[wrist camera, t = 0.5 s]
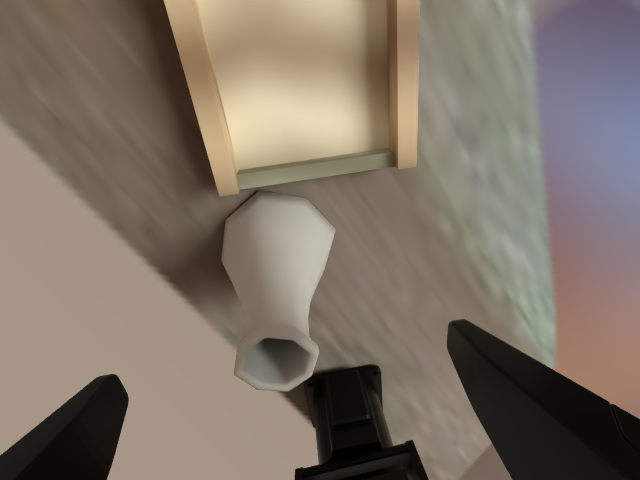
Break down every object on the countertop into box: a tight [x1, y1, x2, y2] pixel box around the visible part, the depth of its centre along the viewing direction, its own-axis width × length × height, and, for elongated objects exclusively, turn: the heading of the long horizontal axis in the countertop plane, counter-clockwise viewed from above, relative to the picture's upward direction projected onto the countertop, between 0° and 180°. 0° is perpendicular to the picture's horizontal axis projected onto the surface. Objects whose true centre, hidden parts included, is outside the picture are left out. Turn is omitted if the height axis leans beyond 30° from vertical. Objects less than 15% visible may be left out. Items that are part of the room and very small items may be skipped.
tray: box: [164, 0, 420, 196], centre depth 15 cm, size 11×10×2 cm
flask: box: [221, 190, 336, 392], centre depth 17 cm, size 7×7×10 cm
